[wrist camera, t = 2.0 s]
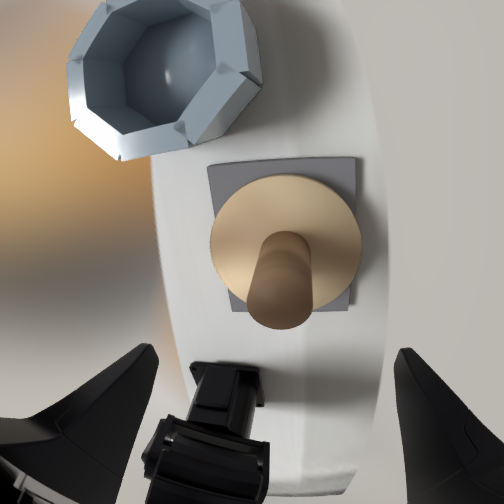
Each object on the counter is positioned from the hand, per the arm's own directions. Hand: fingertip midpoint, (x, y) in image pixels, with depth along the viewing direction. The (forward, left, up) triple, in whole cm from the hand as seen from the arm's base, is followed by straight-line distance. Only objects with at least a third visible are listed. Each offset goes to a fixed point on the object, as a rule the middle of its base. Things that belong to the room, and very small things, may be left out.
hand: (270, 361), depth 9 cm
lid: (0, 0, -9) cm, 8 cm away
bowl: (+11, +5, -9) cm, 15 cm away
